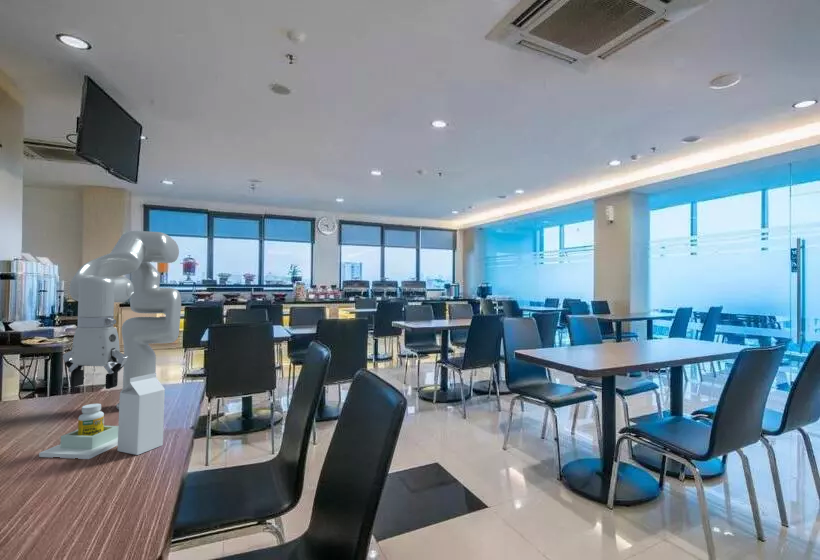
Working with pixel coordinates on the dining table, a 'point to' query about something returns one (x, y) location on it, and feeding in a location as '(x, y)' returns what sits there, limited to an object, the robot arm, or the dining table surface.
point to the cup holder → (84, 444)
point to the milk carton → (141, 415)
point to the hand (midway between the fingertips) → (94, 386)
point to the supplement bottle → (91, 420)
